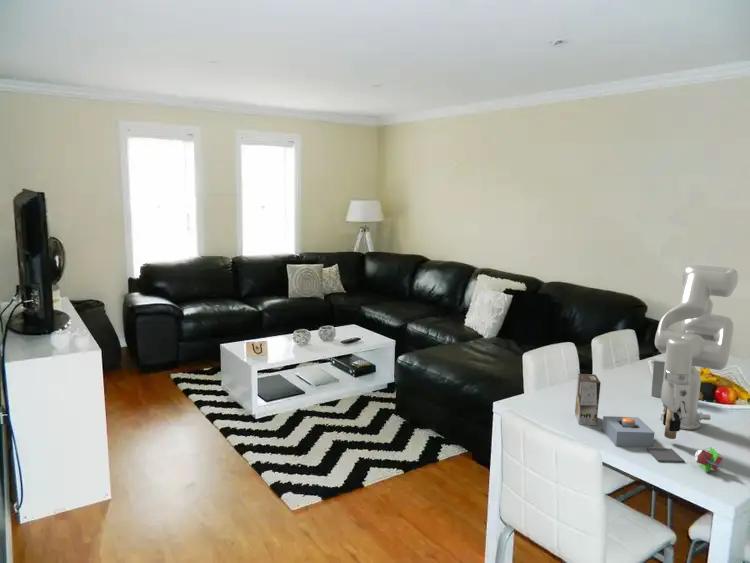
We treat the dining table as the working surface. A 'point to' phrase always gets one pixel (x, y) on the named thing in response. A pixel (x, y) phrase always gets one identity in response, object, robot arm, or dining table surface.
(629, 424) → the orange push button
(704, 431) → the dining table surface
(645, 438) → the grey button housing
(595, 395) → the coffee box
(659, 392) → the skincare box
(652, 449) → the rubber pad
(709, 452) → the geometric puzzle
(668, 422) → the beech dowel
